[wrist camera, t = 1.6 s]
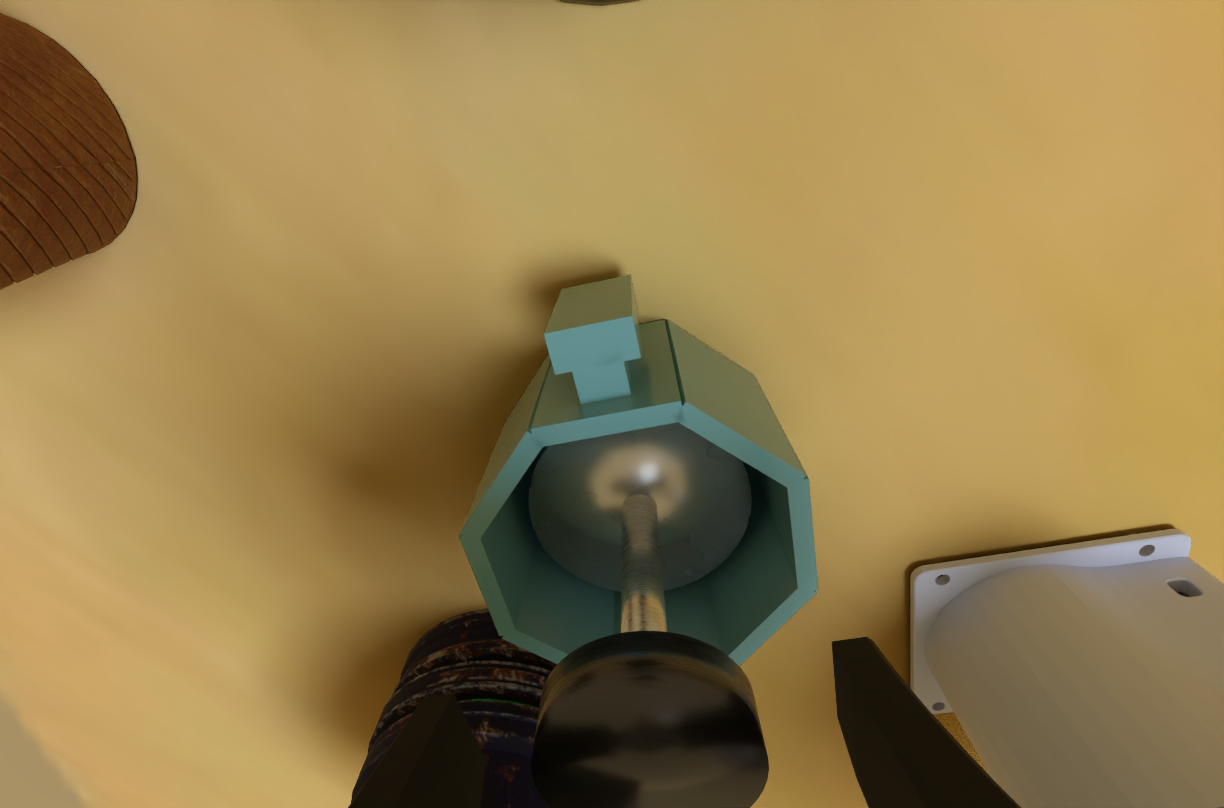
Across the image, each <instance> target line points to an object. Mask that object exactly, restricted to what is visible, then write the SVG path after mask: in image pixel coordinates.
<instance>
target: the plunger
mask: <svg viewBox="0 0 1224 808" xmlns="http://www.w3.org/2000/svg"><path fill="white" fill-rule="evenodd" d="M528 503H529V513H530V518H531V522H532V526H533V528H534V530H535V533H536V535H537V537H538V539H539V541H540V542H541V544H542V546H543V547H544V549H545V550H546V551H547V552H548V554H549V555H550V556H551V557H552V558H553V559H554V560H555V561H556V562H557V563H558V564H559V565H560V566H562V567H563V568H564V569H566V570H567V571H568V572H570V573H571V574H573V575H575V576H576V577H578V578H580V579H581V580H584V581H586V582H588V583H591V584H593V585H596V586H599V587H602V588H605V589H609V590H614V591H619V592H621V633H618V634H613V635H609V636H606V637H602V638H599V639H596V640H594V641H591V642H589V643H587V644H584V645H583V646H581V647H579V648H577V649H576V650H574V651H572V652H571V653H570V654H568V655H567V656H566V657H564V658H563V659H562V660H561V661H560V662H559V663H558V664H557V665H556V666H555V667H554V669H553V670H552V671H551V673H550V674H549V676H548V678H547V680H546V682H545V684H544V686H543V690H542V693H541V700H540V706H539V713H538V720H537V726H536V733H535V740H534V746H533V753H532V762H531V771H532V778H533V781H534V784H535V787H536V788H537V790H538V792H539V794H540V796H541V797H542V798H543V799H544V801H545V802H546V803H547V804H548V805H549V806H550V807H551V808H750V807H751V806H752V805H753V804H754V803H755V801H756V800H757V799H758V798H759V796H760V794H761V793H762V791H763V789H764V787H765V784H766V781H767V778H768V771H769V764H768V756H767V752H766V747H765V743H764V739H763V734H762V730H761V725H760V721H759V716H758V712H757V708H756V703H755V699H754V695H753V691H752V687H751V684H750V682H749V680H748V678H747V676H746V675H745V673H744V672H743V670H742V669H741V668H740V667H739V666H738V665H737V664H736V662H735V661H734V660H733V659H731V658H730V657H729V656H728V655H726V654H725V653H724V652H722V651H721V650H719V649H717V648H715V647H714V646H712V645H710V644H708V643H705V642H703V641H701V640H699V639H695V638H692V637H689V636H686V635H681V634H676V633H671V632H667V623H666V611H665V599H664V591H665V590H670V589H674V588H677V587H680V586H684V585H686V584H689V583H691V582H693V581H696V580H698V579H700V578H701V577H703V576H705V575H707V574H708V573H710V572H711V571H712V570H714V569H715V568H717V567H718V566H719V565H720V564H721V563H722V562H723V561H725V560H726V559H727V558H728V557H729V555H730V554H731V553H732V552H733V551H734V549H735V548H736V547H737V545H738V544H739V542H740V540H741V539H742V537H743V535H744V533H745V530H746V528H747V526H748V522H749V518H750V514H751V505H752V496H751V486H750V482H749V477H748V475H747V472H746V469H745V466H744V464H743V461H742V460H740V459H739V458H737V457H735V456H734V455H732V454H730V453H729V452H727V451H725V450H724V449H722V448H720V447H719V446H717V445H715V444H714V443H712V442H710V441H709V440H707V439H705V438H704V437H702V436H700V435H699V434H697V433H695V432H694V431H692V430H690V429H689V428H687V427H685V426H684V425H682V424H680V423H679V422H676V423H671V424H665V425H660V426H654V427H649V428H643V429H638V430H632V431H627V432H621V433H616V434H610V435H605V436H599V437H594V438H588V439H583V440H577V441H572V442H566V443H561V444H555V445H550V446H546V447H545V448H544V450H543V452H542V454H541V455H540V457H539V459H538V461H537V464H536V466H535V469H534V472H533V476H532V480H531V484H530V489H529V501H528Z"/></svg>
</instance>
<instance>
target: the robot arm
mask: <svg viewBox="0 0 1224 808" xmlns="http://www.w3.org/2000/svg"><path fill="white" fill-rule="evenodd" d="M1190 547H1191V538H1190V537H1189V535H1187V534H1186V533H1184V532H1183V531H1182V530H1179V529H1167V530H1160V531H1154V532H1147V533H1140V534H1133V535H1126V536H1120V537H1113V538H1106V539H1099V540H1092V541H1086V542H1079V543H1072V544H1065V545H1058V546H1052V547H1045V548H1038V549H1031V550H1024V551H1018V552H1011V553H1004V554H997V555H990V556H984V557H977V558H970V559H963V560H956V561H950V562H943V563H936V564H929V565H923V566H920V567H918V568H916V569H915V570H914V571H913V572H912V574H911V587H910V688H909V686H908V685H907V684H906V683H905V681H904V680H903V679H902V678H901V677H900V675H899V674H898V673H897V672H896V670H895V669H894V668H893V667H892V665H891V664H890V663H889V662H888V660H887V659H886V658H885V656H884V655H883V654H882V652H881V651H880V650H879V648H878V647H877V646H876V644H875V643H874V642H873V641H872V640H871V639H869V638H868V637H862V638H855V639H847V640H840V641H833V642H832V651H833V664H834V677H835V690H836V703H837V716H838V720H839V723H840V726H841V730H842V733H843V736H844V739H845V742H846V746H847V749H848V752H849V755H850V758H851V761H852V765H853V768H854V771H855V774H856V777H857V780H858V782H859V785H860V787H861V790H862V792H863V795H864V797H865V799H866V802H867V804H868V807H869V808H1224V584H1223V583H1222V582H1221V581H1219V580H1218V579H1217V578H1215V577H1214V576H1213V575H1212V574H1210V573H1209V572H1208V571H1206V570H1205V569H1204V568H1202V567H1201V566H1200V565H1198V564H1197V563H1196V562H1194V561H1193V560H1192V559H1190V558H1189V557H1188V555H1189V551H1190ZM943 574H944V575H943ZM940 575H942V576H941V577H939V578H937V577H938V576H940ZM950 712H954V714H955V715H956V717H957V719H958V721H959V723H960V724H961V726H962V728H963V730H964V731H965V733H966V735H967V737H968V739H969V740H970V742H971V744H972V746H973V747H974V749H975V751H976V753H977V755H978V756H979V758H980V760H981V762H982V763H983V765H984V767H985V769H986V770H987V772H988V774H989V775H988V774H987V773H986V772H985V771H984V769H983V768H982V767H981V766H980V765H979V764H978V763H977V762H976V761H975V760H974V759H973V758H972V757H971V756H970V755H969V754H968V753H967V751H966V750H965V749H964V748H963V747H962V746H961V745H960V744H959V743H958V742H957V741H956V740H955V739H954V737H953V736H952V735H951V734H950V733H949V732H948V731H947V730H946V729H945V728H944V727H943V726H942V724H941V723H940V722H939V721H938V720H937V719H936V718H935V717H934V715H933V714H941V713H950ZM485 761H486V760H485V758H484V756H483V753H482V751H481V749H480V747H479V745H478V743H477V741H476V739H475V737H474V735H473V733H472V731H471V729H470V726H469V724H468V722H467V720H466V718H465V716H464V714H463V712H462V710H461V708H460V706H459V704H458V701H457V699H456V697H455V695H454V693H450V694H443V695H436V696H428V697H424V698H423V699H422V701H421V702H420V703H419V705H418V706H417V708H416V709H415V711H414V712H413V714H412V715H411V716H410V718H409V719H408V721H407V722H406V724H405V725H404V727H403V728H402V730H401V731H400V733H399V734H398V736H397V737H396V739H395V740H394V742H393V743H392V745H391V746H390V748H389V749H388V751H387V752H386V754H385V755H384V757H383V758H382V759H381V761H380V762H379V764H378V765H377V767H376V768H375V770H374V771H373V773H372V774H371V776H370V777H369V779H368V780H367V781H366V783H365V784H364V786H363V787H362V789H361V790H360V791H359V793H358V794H357V796H356V797H355V799H354V800H353V801H352V803H351V804H350V806H349V807H348V808H480V805H481V798H482V789H483V780H484V771H485Z"/></svg>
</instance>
